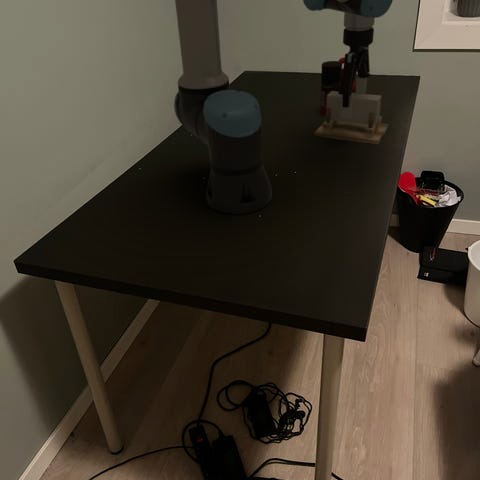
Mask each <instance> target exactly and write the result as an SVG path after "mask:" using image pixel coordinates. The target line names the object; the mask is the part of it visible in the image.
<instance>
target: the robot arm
mask: <svg viewBox="0 0 480 480" xmlns="http://www.w3.org/2000/svg"><path fill="white" fill-rule="evenodd" d="M174 2H175V12H176V18H177V28H178V37H179V38H178V40H179V47H180V48H179V49H180V54H181V55H180V56H181V64H182V74H181V76H180V77H179V78H178V79H177V86H178V87H177V89H178V91H177V93H176V94H175V97H174V101H173V102H174V103H173V107H174V108H173V109H174V112H175V116H176V118H177V120H178V121H179V123H180V124H181V126H183V128H184V129H185V131H188V132H189V133H191V134H193V136H195V137H196V138H198V139H199V140H200V141H201V142H203V143H204V144H205V145H206V146H207V148H208V154H209V155H208V156H209V163H210V172H209V178H208V181H207V186H206V192H205V193H206V201H207V204H208V206H209V207H210V208H212V209H213V210H215V211H217V212H219V213H222V214H226V215H227V214H228V215H243V214H249V213H252V212H256V211H259V210H261V209H262V208H265V207H266V206H267V205H268V204H269V203H270V202H271V200H272V197H273V192H272V189H273V188H272V184H271V181H270V180H269V177H268V174H267V171H266V170H265V167H264V163H263V161H264V160H263V159H264V158H263V144H262V143H263V141H262V114H261V108H260V104H259V102H258V100H257V98H256V97H255V96H253V95H252V94H251V93H248V92H246V91H243V90H240V91H238V90H237V89H236V90H235V89H231V87H230V77H229V76H228V75H227V74H226V73H225V72H224V71H223V69H222V59H221V57H222V56H221V43H220V40H221V39H220V29H219V15H218V12H219V11H218V1H217V0H174ZM302 2H303V4H304V6H305V7H306V9H307V10H308V11H312V12H315V11H319V12H320V11H321V12H322V10H333V11H337V12H343V27H344V29H343V32H342V33H343V35H342V43H343V45H345V46H348V47H349V51H348V52H347V53H345V54H344V57H345V61H344V64H343V67H342V68H343V74H342V79H341V85H340V91H339V92H338V94H341V95H342V101H341V118H346V119H351V115H352V100H353V94H352V93H353V91H352V90H353V85H354V81H355V79H356V86H355V93H359V94H367V93H366V92H367V82H368V81H367V80H368V78H371V72H370V71H371V69H370V52H369V49H370V45H371V44H372V43H373V42H374V33H375V28H374V25H375V19H376V18H380V17H382V16H384V15H385V14H386V13H387V12H388V11H389V10H390V8H391V6H392V4H393V2H394V0H302ZM356 76H357V77H356ZM345 89H347V90H345Z"/></svg>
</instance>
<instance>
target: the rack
mask: <svg viewBox="0 0 480 480" xmlns="http://www.w3.org/2000/svg"><path fill="white" fill-rule="evenodd" d="M330 113H331V108H326V116H325V121H324V122H323V123H322V124H320V126H319V127H318V128H317V129H316V130H315V132H314V137H318V138H319V137H320V138H327V139H332V140H333V139H336V140H341V141H342V140H343V141H347V142H348V141H350V142H355V143H356V142H357V143H363V144H372V145H379V144H380V142H381V141H382V138H383V137H384V136H385V134H386V132H387V131H388V130H389V126H390V124H389V123H382V118H383V116H382V115H380V116H379V121H378V123H377V124H376V126H374V125H373V119H374V113H373V112H370V113H369V123H368V125H365V124H356V123H348V122H339V121H331V120H330Z"/></svg>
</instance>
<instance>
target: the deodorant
mask: <svg viewBox="0 0 480 480" xmlns="http://www.w3.org/2000/svg"><path fill="white" fill-rule="evenodd" d="M342 68H343V64H342V63H341V62H339V60H337V61H336V60H328V61H324V62H322V63H321V73H320V74H321V77H320V78H321V81H320V86H321V87H320V115H321V116H323V117H326V108H327V95H328V94H329V93H330V92H331V91H337V92H339V91H340V85H341V77H342Z"/></svg>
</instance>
